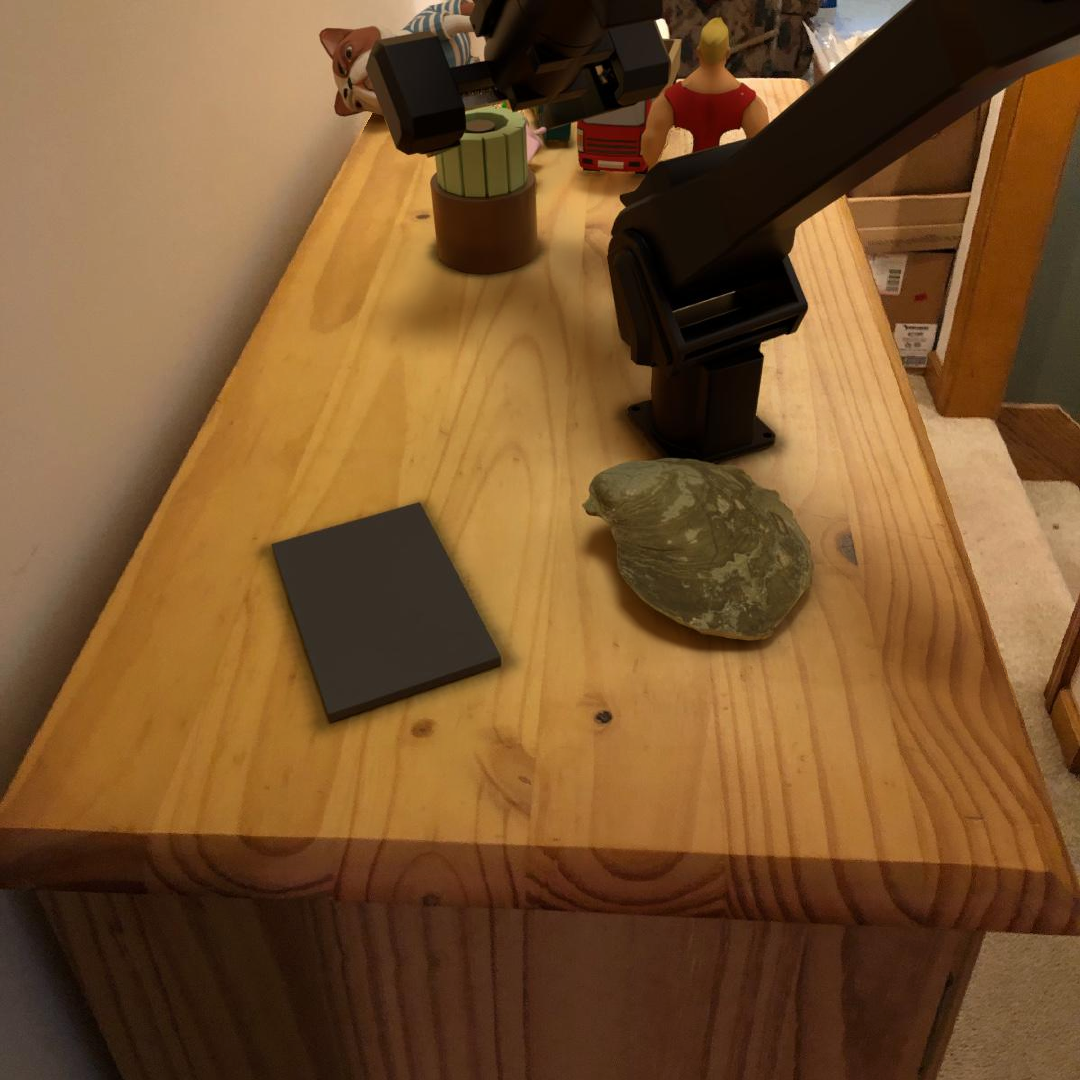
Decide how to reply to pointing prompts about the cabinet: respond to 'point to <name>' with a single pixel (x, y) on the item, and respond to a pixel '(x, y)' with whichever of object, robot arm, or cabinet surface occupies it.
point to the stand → (485, 224)
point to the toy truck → (621, 131)
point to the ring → (487, 156)
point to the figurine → (357, 44)
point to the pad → (381, 610)
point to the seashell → (704, 544)
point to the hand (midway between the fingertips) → (487, 136)
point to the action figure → (704, 101)
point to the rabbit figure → (530, 136)
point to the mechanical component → (555, 133)
